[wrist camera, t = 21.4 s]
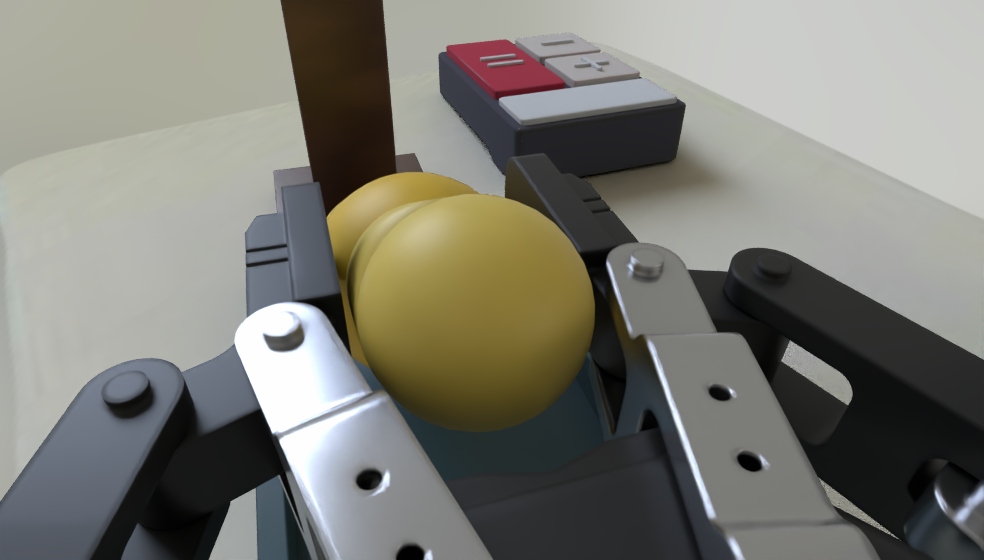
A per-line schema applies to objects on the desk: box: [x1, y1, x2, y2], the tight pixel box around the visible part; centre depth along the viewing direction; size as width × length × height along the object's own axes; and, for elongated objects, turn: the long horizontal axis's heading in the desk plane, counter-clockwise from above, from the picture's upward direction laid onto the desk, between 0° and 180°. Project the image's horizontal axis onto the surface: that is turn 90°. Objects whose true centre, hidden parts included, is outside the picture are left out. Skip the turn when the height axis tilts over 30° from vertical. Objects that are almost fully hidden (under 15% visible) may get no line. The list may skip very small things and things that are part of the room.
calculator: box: [439, 33, 686, 177], centre depth 42 cm, size 11×4×15 cm
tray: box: [256, 351, 605, 560], centre depth 21 cm, size 12×25×3 cm, turn 17°
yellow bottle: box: [326, 172, 595, 432], centre depth 17 cm, size 19×5×5 cm
